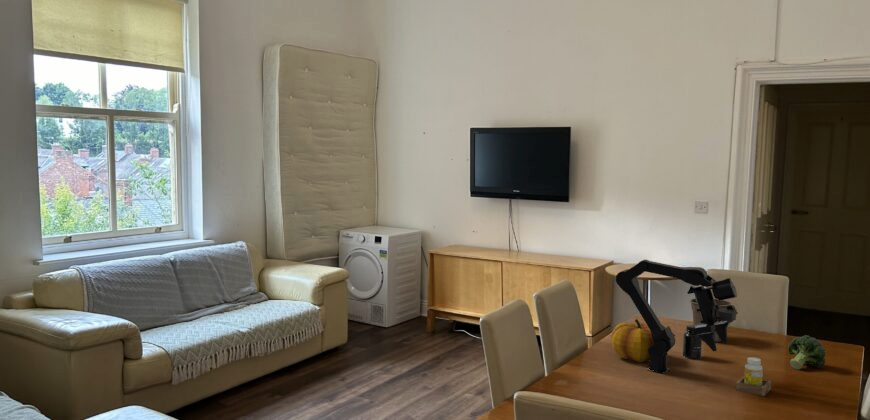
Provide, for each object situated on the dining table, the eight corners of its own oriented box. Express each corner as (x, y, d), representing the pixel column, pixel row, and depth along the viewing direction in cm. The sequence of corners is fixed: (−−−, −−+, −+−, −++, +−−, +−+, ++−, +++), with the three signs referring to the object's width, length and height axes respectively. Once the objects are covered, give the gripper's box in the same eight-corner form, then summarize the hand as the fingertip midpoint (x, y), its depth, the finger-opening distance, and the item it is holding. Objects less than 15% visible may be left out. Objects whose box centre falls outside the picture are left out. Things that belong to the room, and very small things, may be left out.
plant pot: (680, 335, 288) (681, 298, 287) (711, 332, 293) (712, 296, 292) (706, 345, 273) (707, 306, 272) (738, 342, 278) (739, 304, 276)
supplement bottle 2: (763, 390, 216) (765, 361, 216) (746, 389, 218) (747, 360, 217) (759, 385, 222) (761, 357, 221) (742, 383, 223) (743, 355, 222)
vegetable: (771, 357, 249) (792, 335, 255) (798, 385, 244) (819, 362, 251) (791, 346, 238) (812, 324, 245) (819, 375, 234) (841, 351, 241)
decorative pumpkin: (611, 364, 246) (612, 324, 245) (610, 347, 268) (611, 311, 267) (668, 368, 242) (670, 328, 240) (662, 351, 263) (664, 314, 262)
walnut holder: (764, 396, 214) (764, 388, 213) (736, 390, 219) (736, 382, 219) (770, 389, 220) (771, 381, 220) (743, 383, 226) (743, 375, 226)
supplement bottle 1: (698, 360, 252) (699, 329, 251) (680, 357, 256) (681, 326, 255) (703, 356, 257) (704, 326, 256) (685, 353, 261) (686, 323, 260)
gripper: (717, 305, 217) (732, 352, 215) (739, 293, 230) (753, 337, 229) (686, 310, 225) (700, 356, 223) (708, 299, 238) (722, 341, 236)
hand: (720, 347), depth 228 cm, fingers open, 9 cm apart
